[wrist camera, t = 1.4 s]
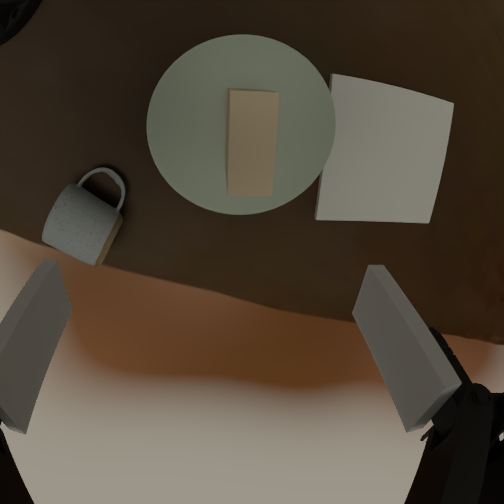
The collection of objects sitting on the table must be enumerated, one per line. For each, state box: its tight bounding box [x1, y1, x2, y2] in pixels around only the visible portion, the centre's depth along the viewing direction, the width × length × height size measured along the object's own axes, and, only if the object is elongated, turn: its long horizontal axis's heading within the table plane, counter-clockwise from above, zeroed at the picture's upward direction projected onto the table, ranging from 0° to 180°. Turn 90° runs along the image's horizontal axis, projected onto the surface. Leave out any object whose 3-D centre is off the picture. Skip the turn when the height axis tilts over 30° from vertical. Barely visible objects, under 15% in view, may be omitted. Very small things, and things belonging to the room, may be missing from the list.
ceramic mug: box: [42, 167, 126, 266], centre depth 32 cm, size 11×8×8 cm
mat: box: [314, 74, 454, 223], centre depth 35 cm, size 18×18×1 cm
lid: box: [147, 35, 336, 215], centre depth 23 cm, size 17×17×9 cm
